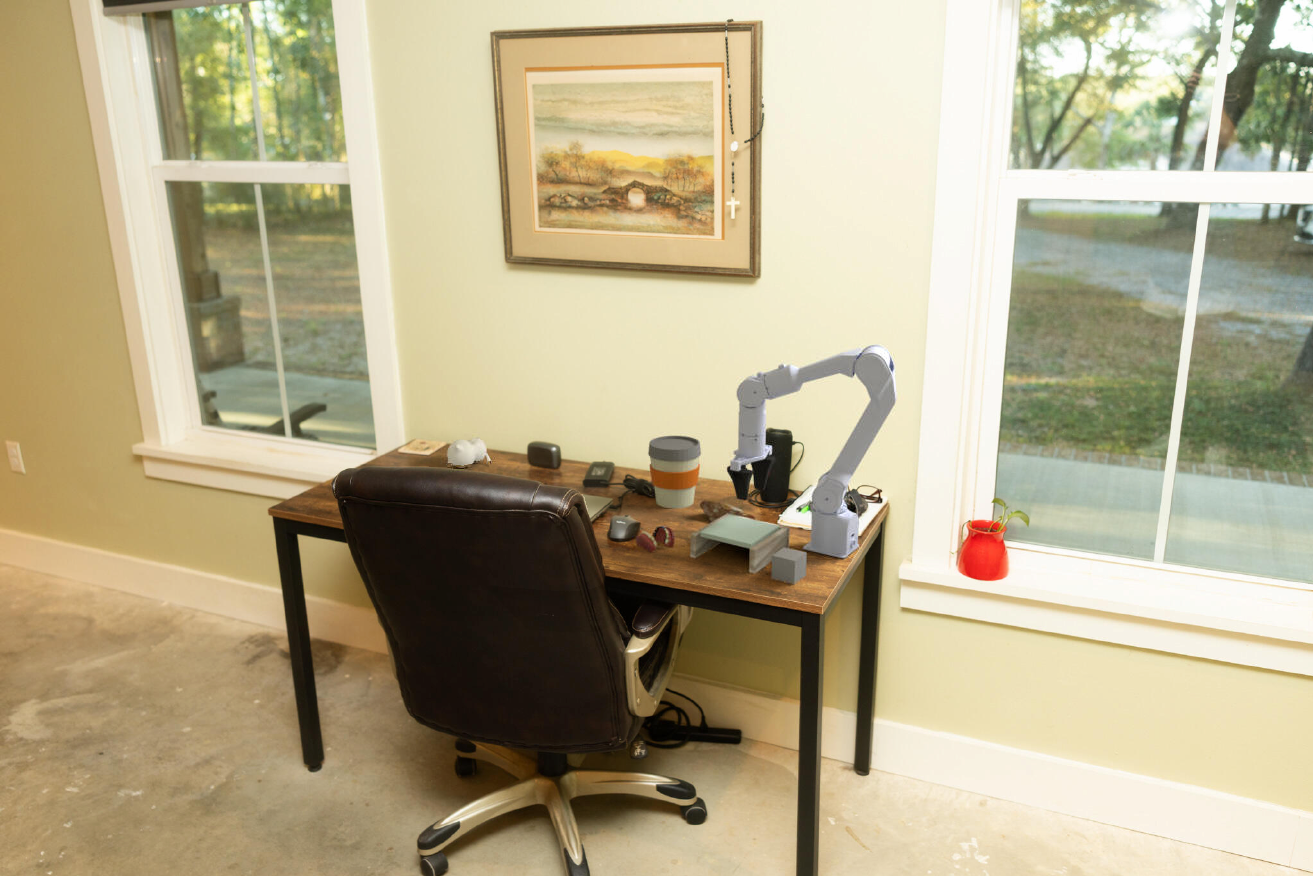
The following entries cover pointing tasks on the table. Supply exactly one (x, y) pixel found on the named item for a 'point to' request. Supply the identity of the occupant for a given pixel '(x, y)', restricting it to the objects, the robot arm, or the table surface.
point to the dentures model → (656, 538)
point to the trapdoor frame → (758, 553)
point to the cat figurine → (467, 451)
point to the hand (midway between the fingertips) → (750, 494)
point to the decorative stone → (721, 510)
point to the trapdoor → (739, 531)
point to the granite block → (789, 565)
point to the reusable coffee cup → (674, 469)
